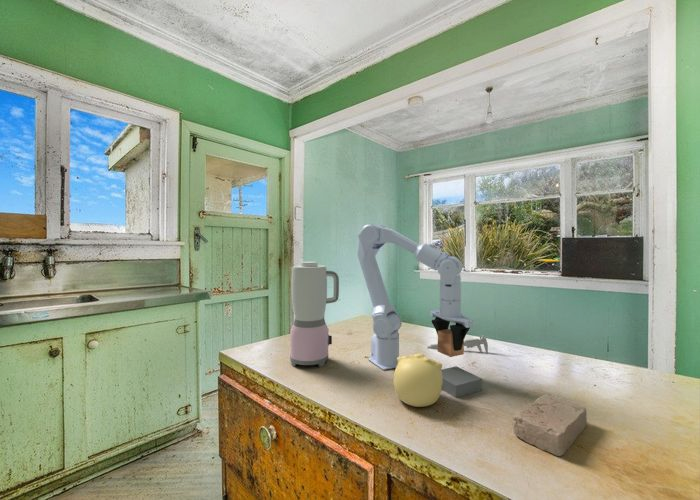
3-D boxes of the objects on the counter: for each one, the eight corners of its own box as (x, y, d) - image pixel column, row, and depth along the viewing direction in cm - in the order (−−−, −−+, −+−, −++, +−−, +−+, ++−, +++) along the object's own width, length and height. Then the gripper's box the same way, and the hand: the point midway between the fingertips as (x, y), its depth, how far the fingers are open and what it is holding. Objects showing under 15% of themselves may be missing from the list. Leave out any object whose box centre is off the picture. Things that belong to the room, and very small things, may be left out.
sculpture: (445, 393, 79) (445, 351, 78) (438, 417, 68) (438, 368, 67) (400, 385, 83) (400, 345, 83) (387, 406, 72) (387, 360, 72)
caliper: (487, 353, 108) (487, 335, 108) (487, 354, 107) (487, 335, 107) (426, 348, 113) (427, 330, 113) (426, 348, 112) (427, 331, 112)
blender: (287, 369, 93) (286, 263, 93) (292, 355, 106) (291, 261, 105) (339, 368, 94) (339, 263, 94) (338, 354, 107) (338, 260, 106)
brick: (544, 409, 71) (544, 389, 71) (588, 426, 65) (589, 404, 65) (511, 438, 61) (511, 415, 61) (560, 462, 54) (560, 435, 54)
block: (437, 351, 90) (437, 330, 89) (450, 348, 92) (450, 328, 92) (450, 357, 85) (450, 335, 85) (463, 354, 87) (463, 333, 87)
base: (431, 382, 84) (431, 371, 84) (456, 376, 88) (456, 366, 88) (455, 397, 76) (455, 385, 76) (482, 390, 80) (482, 378, 80)
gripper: (481, 302, 83) (481, 352, 84) (442, 294, 96) (442, 338, 97) (462, 304, 80) (461, 356, 81) (424, 296, 93) (424, 341, 94)
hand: (450, 346), depth 88 cm, fingers closed on block, 5 cm apart
